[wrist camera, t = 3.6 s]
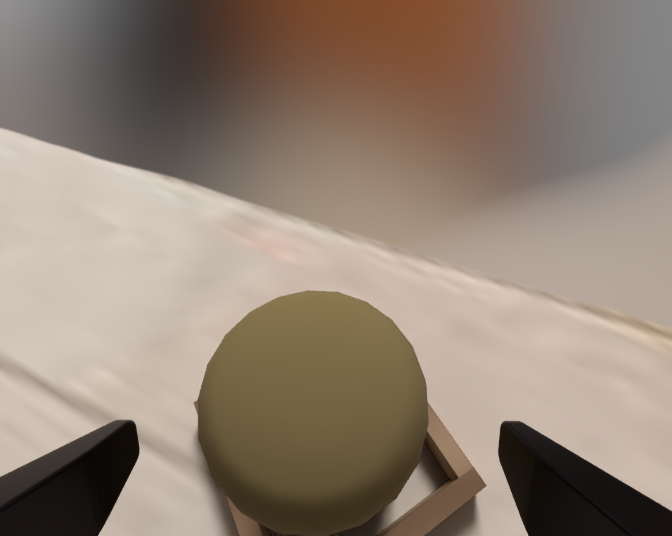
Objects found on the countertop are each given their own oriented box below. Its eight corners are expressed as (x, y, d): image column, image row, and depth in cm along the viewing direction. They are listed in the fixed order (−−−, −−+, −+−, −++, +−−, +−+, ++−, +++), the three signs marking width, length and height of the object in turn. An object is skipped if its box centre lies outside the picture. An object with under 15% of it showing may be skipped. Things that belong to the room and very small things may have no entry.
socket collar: (475, 486, 15) (486, 485, 14) (286, 635, 13) (279, 650, 11) (360, 321, 19) (361, 309, 18) (205, 409, 17) (193, 402, 16)
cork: (423, 487, 15) (541, 473, 6) (289, 556, 14) (173, 675, 5) (363, 360, 18) (377, 220, 9) (250, 408, 17) (134, 304, 8)
